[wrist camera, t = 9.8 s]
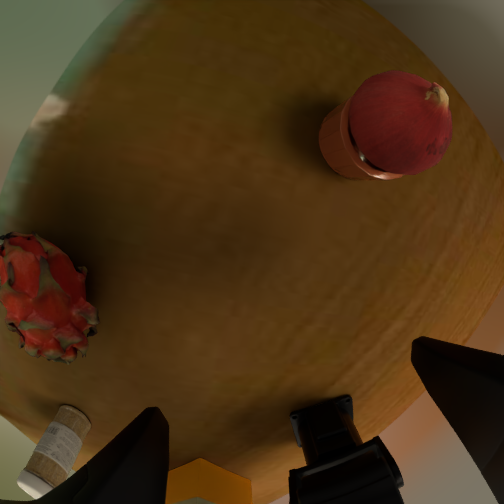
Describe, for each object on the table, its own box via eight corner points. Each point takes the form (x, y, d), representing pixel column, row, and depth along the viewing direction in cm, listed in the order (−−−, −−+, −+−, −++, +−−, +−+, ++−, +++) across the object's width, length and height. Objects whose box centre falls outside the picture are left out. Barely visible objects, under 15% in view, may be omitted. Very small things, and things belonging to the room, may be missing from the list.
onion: (410, 123, 16) (484, 84, 8) (399, 195, 16) (487, 182, 8) (339, 88, 15) (395, 21, 7) (321, 163, 16) (387, 118, 8)
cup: (393, 173, 19) (426, 172, 15) (329, 186, 19) (354, 187, 15) (375, 103, 18) (405, 88, 14) (309, 111, 18) (328, 92, 14)
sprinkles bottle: (68, 424, 24) (30, 498, 11) (55, 399, 23) (7, 475, 10) (97, 432, 24) (63, 514, 11) (84, 407, 23) (40, 493, 10)
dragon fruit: (113, 334, 23) (47, 233, 22) (138, 313, 17) (53, 179, 16) (49, 388, 16) (-18, 273, 15) (45, 391, 11) (-39, 227, 10)
